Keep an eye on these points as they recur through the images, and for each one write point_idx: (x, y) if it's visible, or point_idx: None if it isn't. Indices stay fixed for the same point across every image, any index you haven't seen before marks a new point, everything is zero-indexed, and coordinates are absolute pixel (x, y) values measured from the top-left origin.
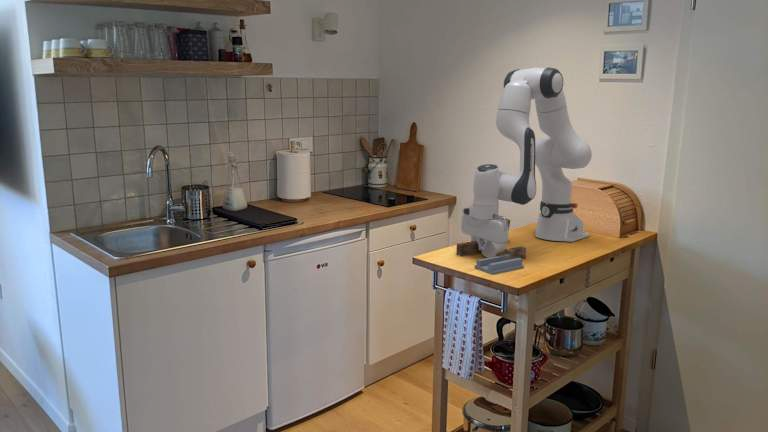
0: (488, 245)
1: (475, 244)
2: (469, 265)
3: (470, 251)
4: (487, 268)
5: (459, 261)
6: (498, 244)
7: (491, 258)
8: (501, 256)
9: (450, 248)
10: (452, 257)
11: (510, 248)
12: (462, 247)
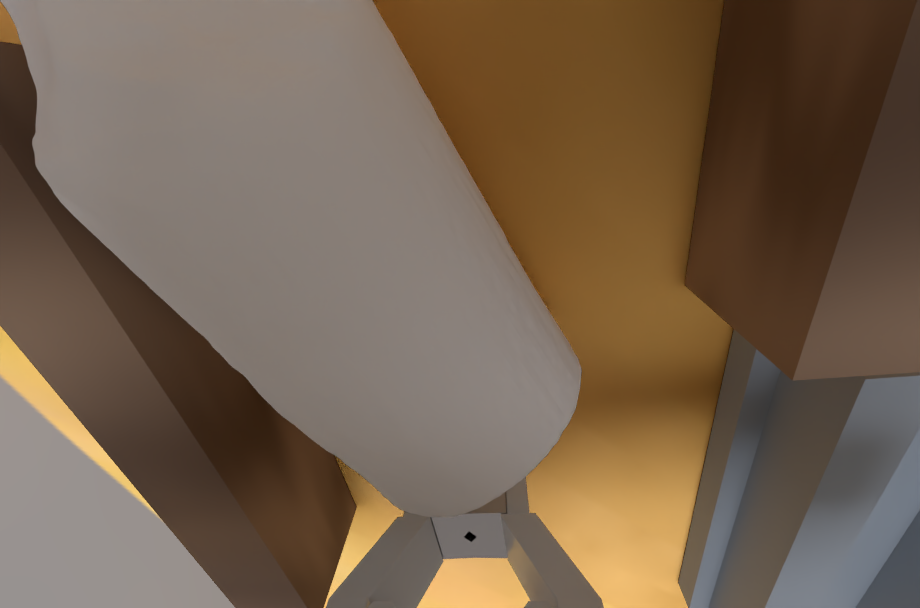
0: (552, 549)
1: (244, 472)
2: (599, 571)
3: (310, 459)
4: (824, 596)
5: (478, 568)
6: (483, 307)
7: (815, 597)
8: (867, 500)
9: (86, 451)
10: (365, 553)
11: (854, 231)
12: (322, 585)
